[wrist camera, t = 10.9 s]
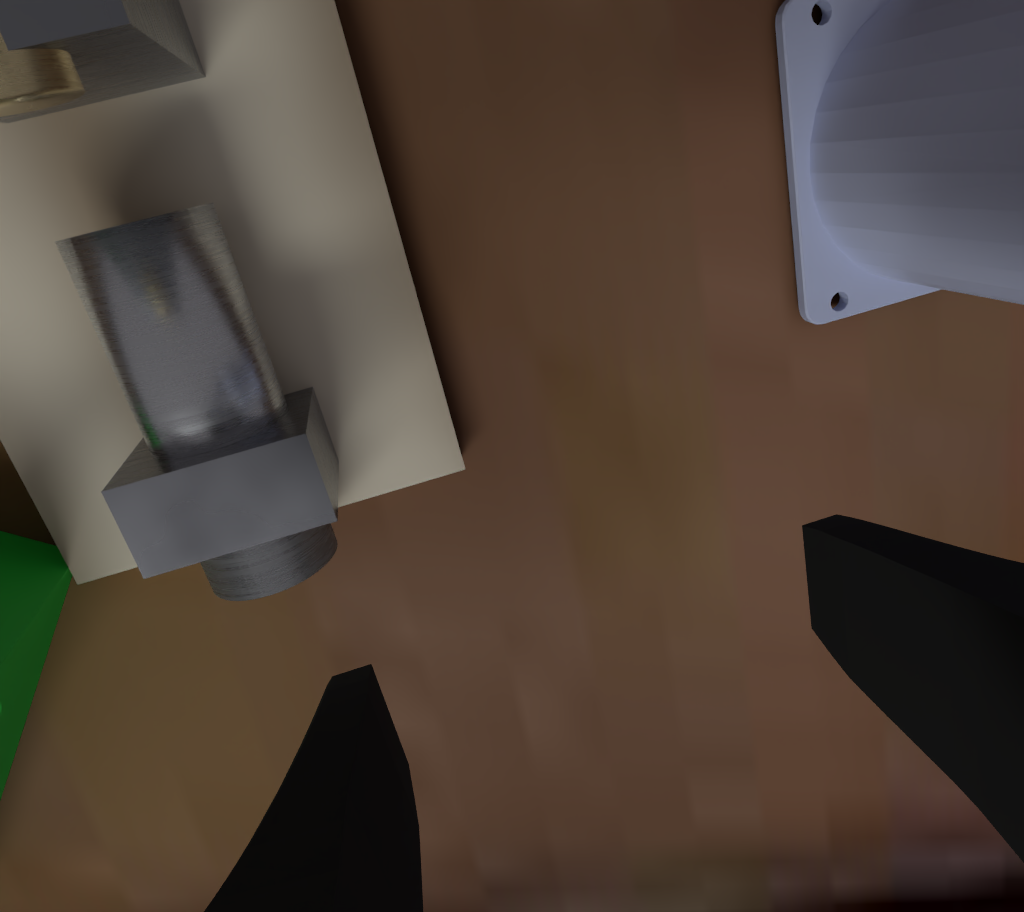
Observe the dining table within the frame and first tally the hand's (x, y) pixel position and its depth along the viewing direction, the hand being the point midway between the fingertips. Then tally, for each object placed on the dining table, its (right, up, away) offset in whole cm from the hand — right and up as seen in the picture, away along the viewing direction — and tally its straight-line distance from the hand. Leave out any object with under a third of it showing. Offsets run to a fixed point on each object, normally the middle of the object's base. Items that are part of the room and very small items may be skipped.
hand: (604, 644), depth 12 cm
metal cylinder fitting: (-8, +5, +7) cm, 12 cm away
